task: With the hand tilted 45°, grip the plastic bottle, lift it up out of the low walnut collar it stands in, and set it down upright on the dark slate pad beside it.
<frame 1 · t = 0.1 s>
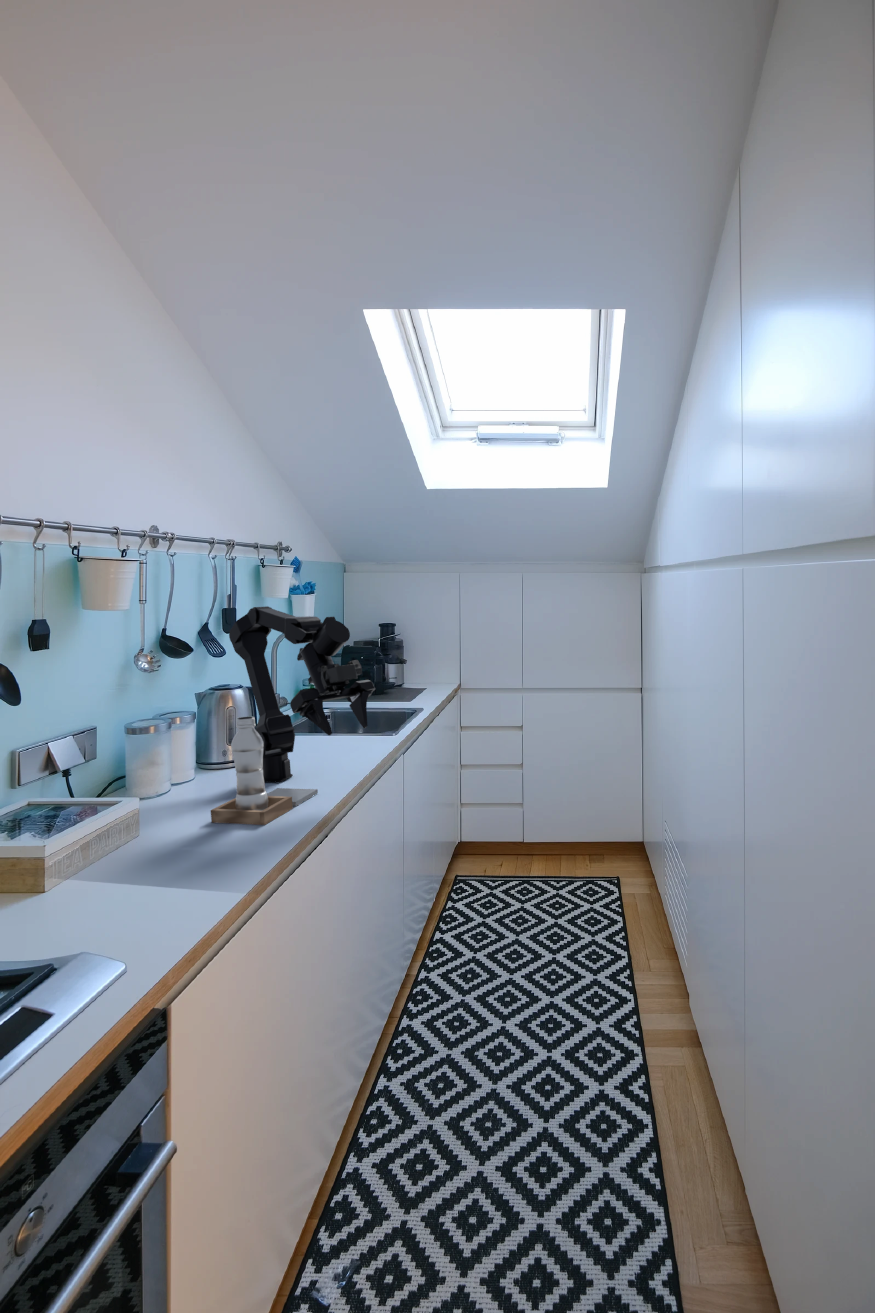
hand: (348, 730, 159), 15 cm above the table, tool tilted 35°, fingers open, 9 cm apart
plastic bottle: (253, 816, 153), resting in walnut collar
walnut collar: (253, 815, 153), on the table
slate pad: (286, 799, 164), on the table
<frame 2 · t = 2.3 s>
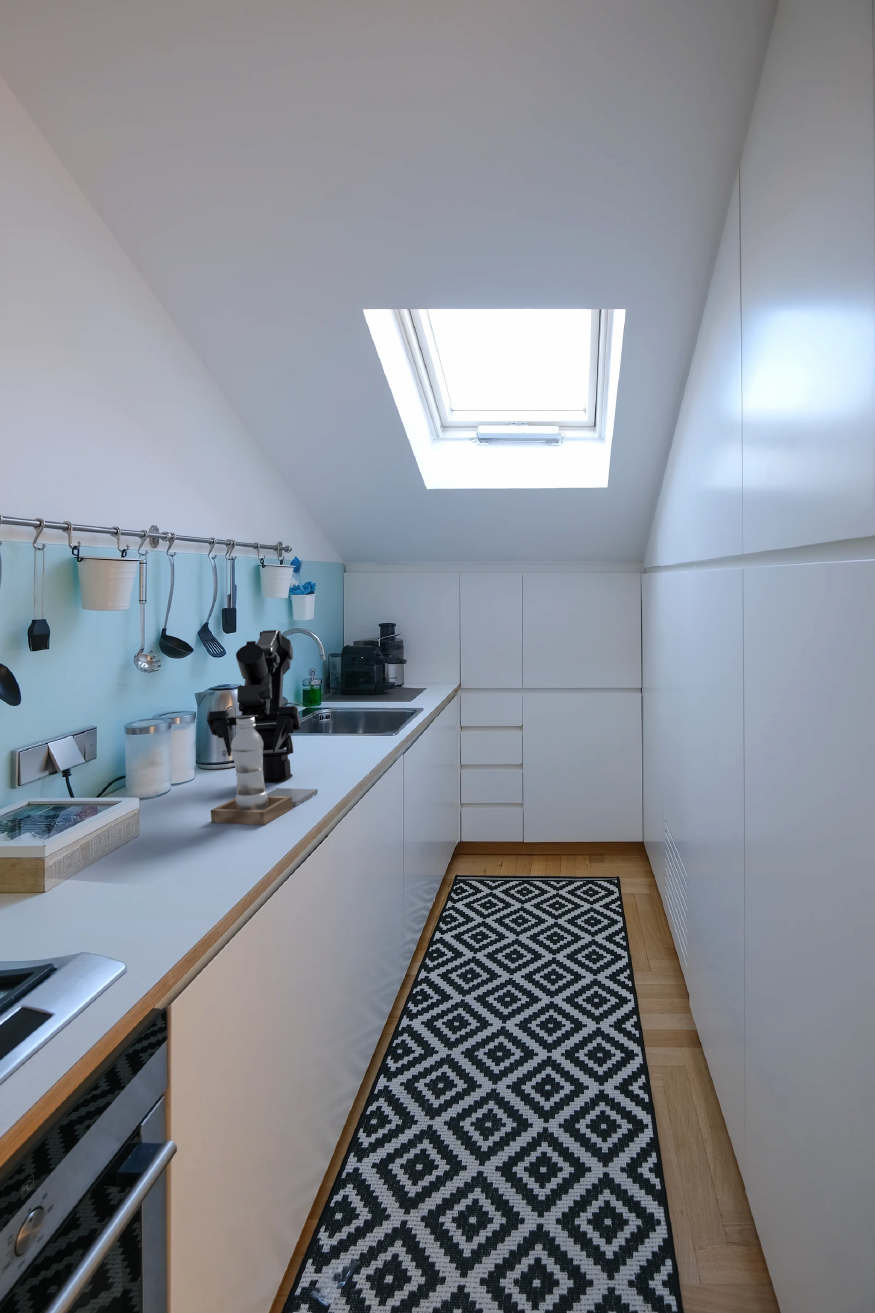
hand: (251, 753, 155), 12 cm above the table, tool tilted 45°, fingers open, 9 cm apart
nothing on the table moved.
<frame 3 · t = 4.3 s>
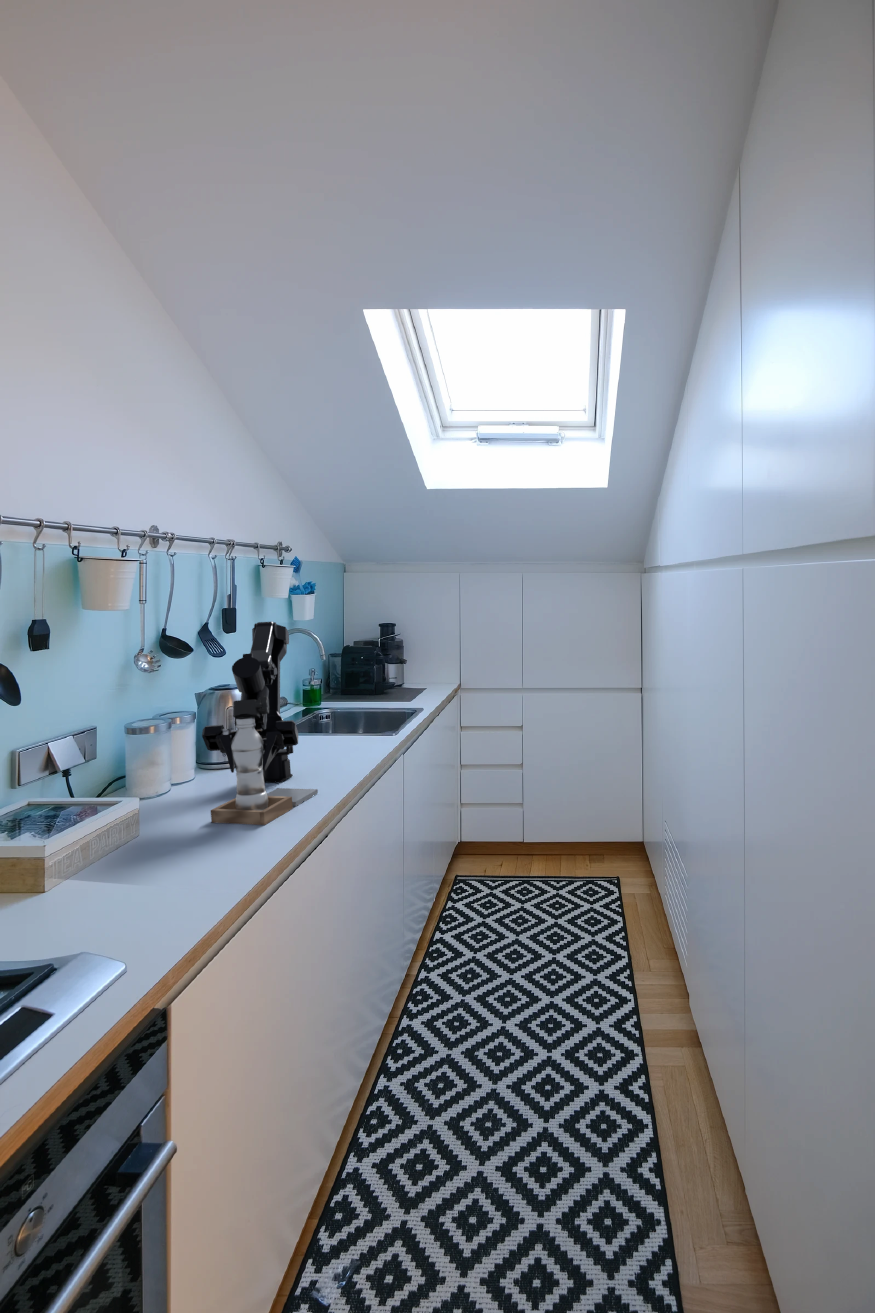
hand: (248, 770, 150), 10 cm above the table, tool tilted 45°, fingers closed on plastic bottle, 6 cm apart
plastic bottle: (253, 816, 153), resting in walnut collar, touching gripper
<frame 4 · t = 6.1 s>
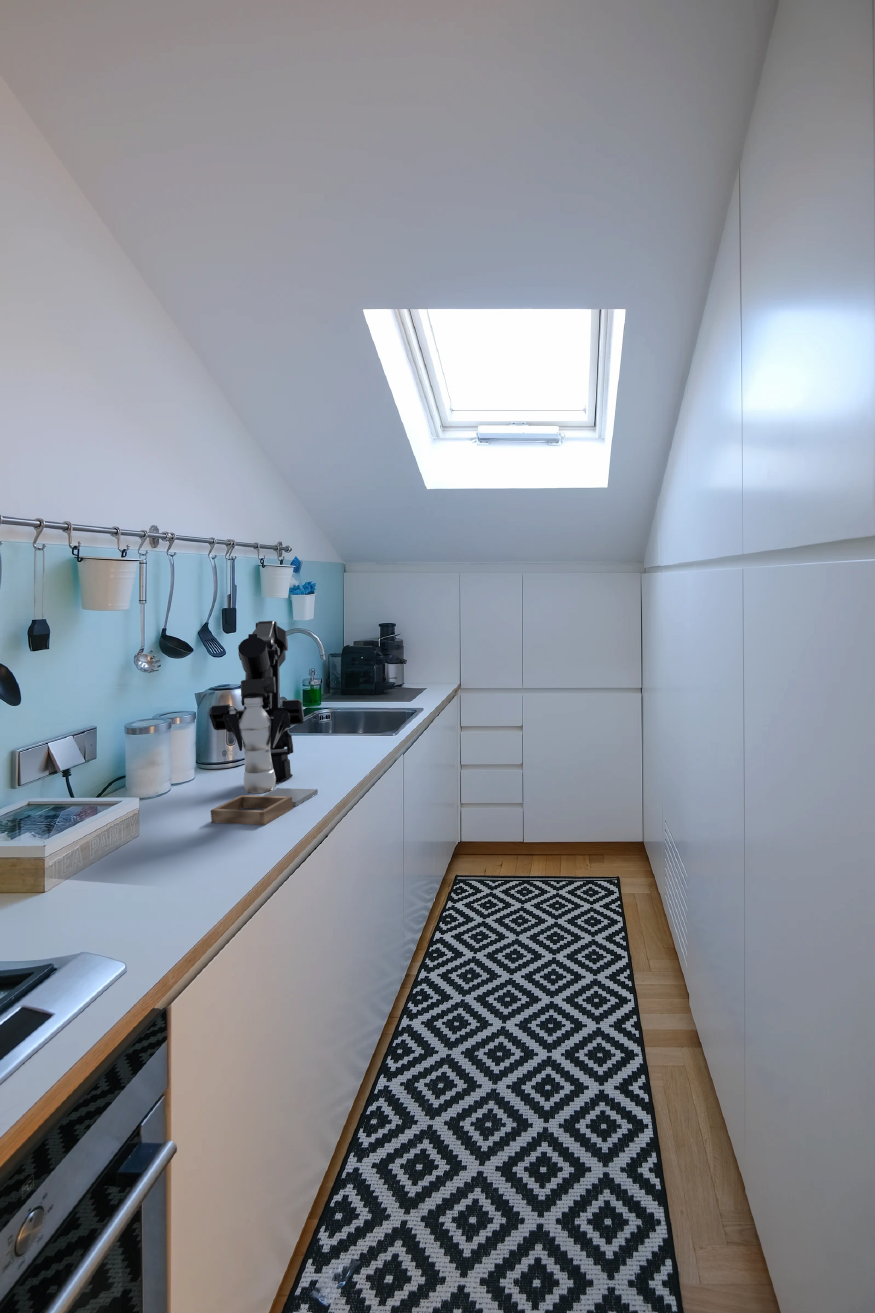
hand: (256, 748, 153), 13 cm above the table, tool tilted 45°, fingers closed on plastic bottle, 6 cm apart
plastic bottle: (260, 794, 155), point 4 cm above the table, touching gripper
when the fingers open (12 cm above the table, at t = 8.1 s): plastic bottle drops 1 cm, resting on slate pad.
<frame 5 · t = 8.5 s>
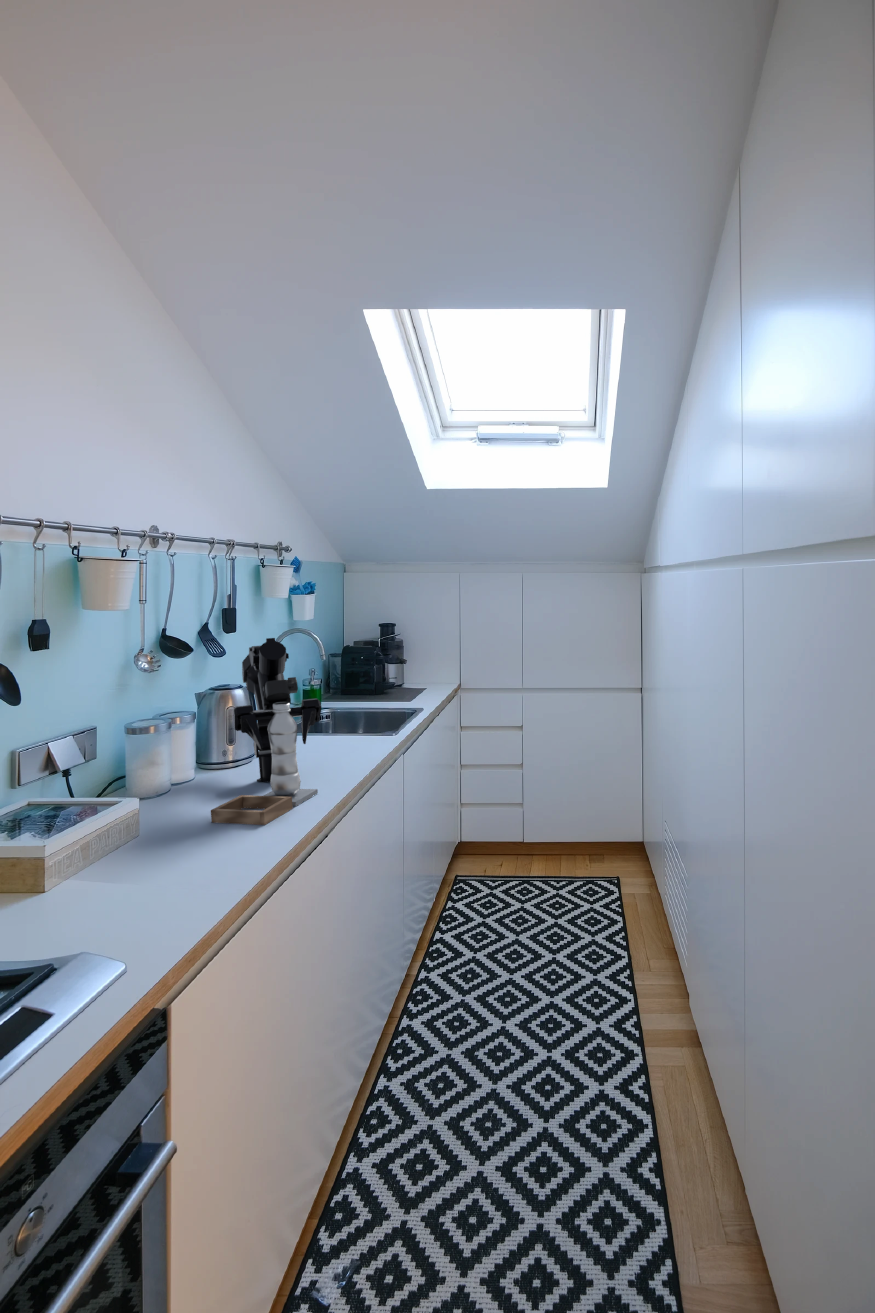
hand: (283, 745, 161), 12 cm above the table, tool tilted 45°, fingers open, 9 cm apart
plastic bottle: (286, 795, 164), point 1 cm above the table, touching slate pad
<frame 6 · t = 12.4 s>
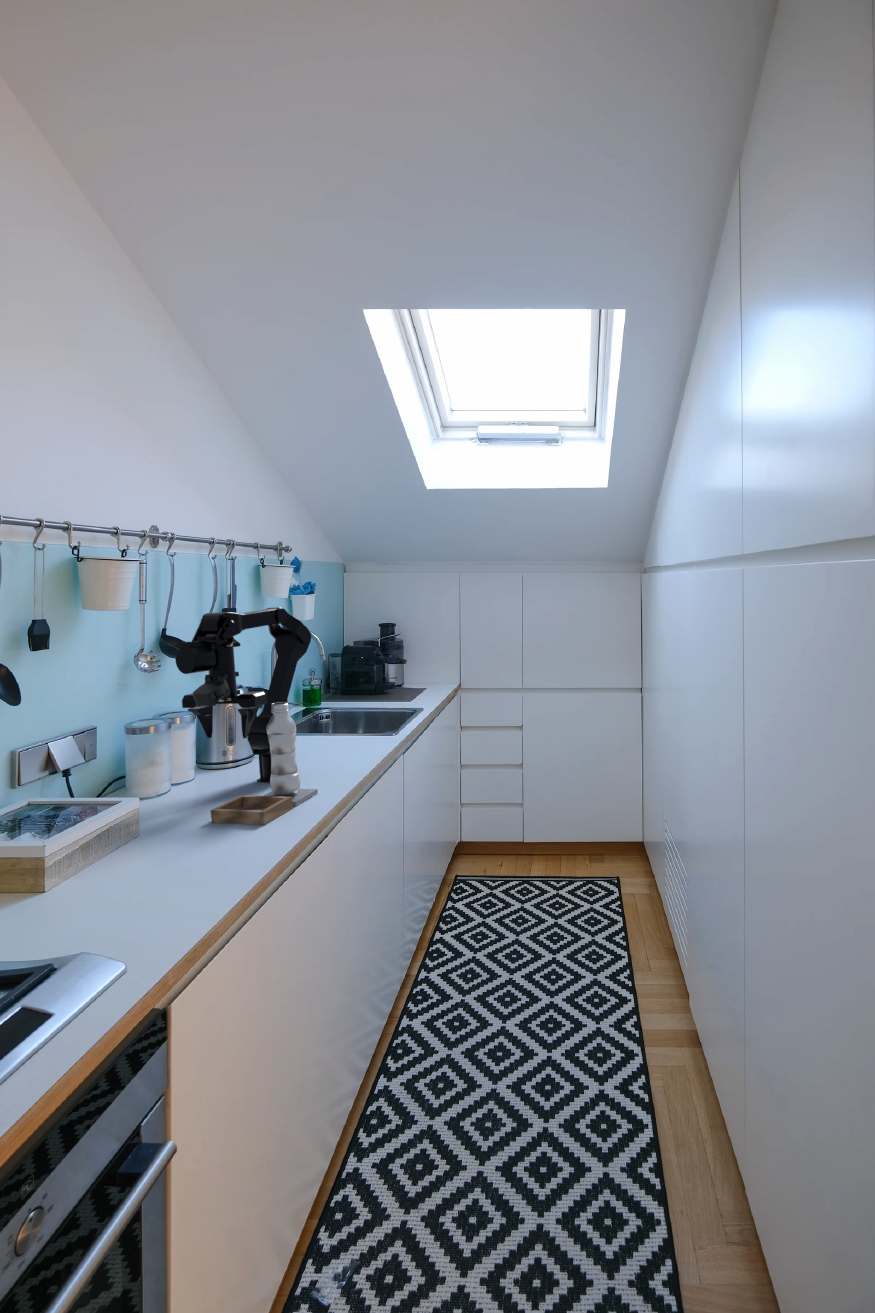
hand: (227, 738, 169), 13 cm above the table, tool pointing down, fingers open, 9 cm apart
nothing on the table moved.
at the end: plastic bottle inside the target area (0.0 cm from its centre), point 0.8 cm above the table; plastic bottle tilted 0°; the gripper is holding nothing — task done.
